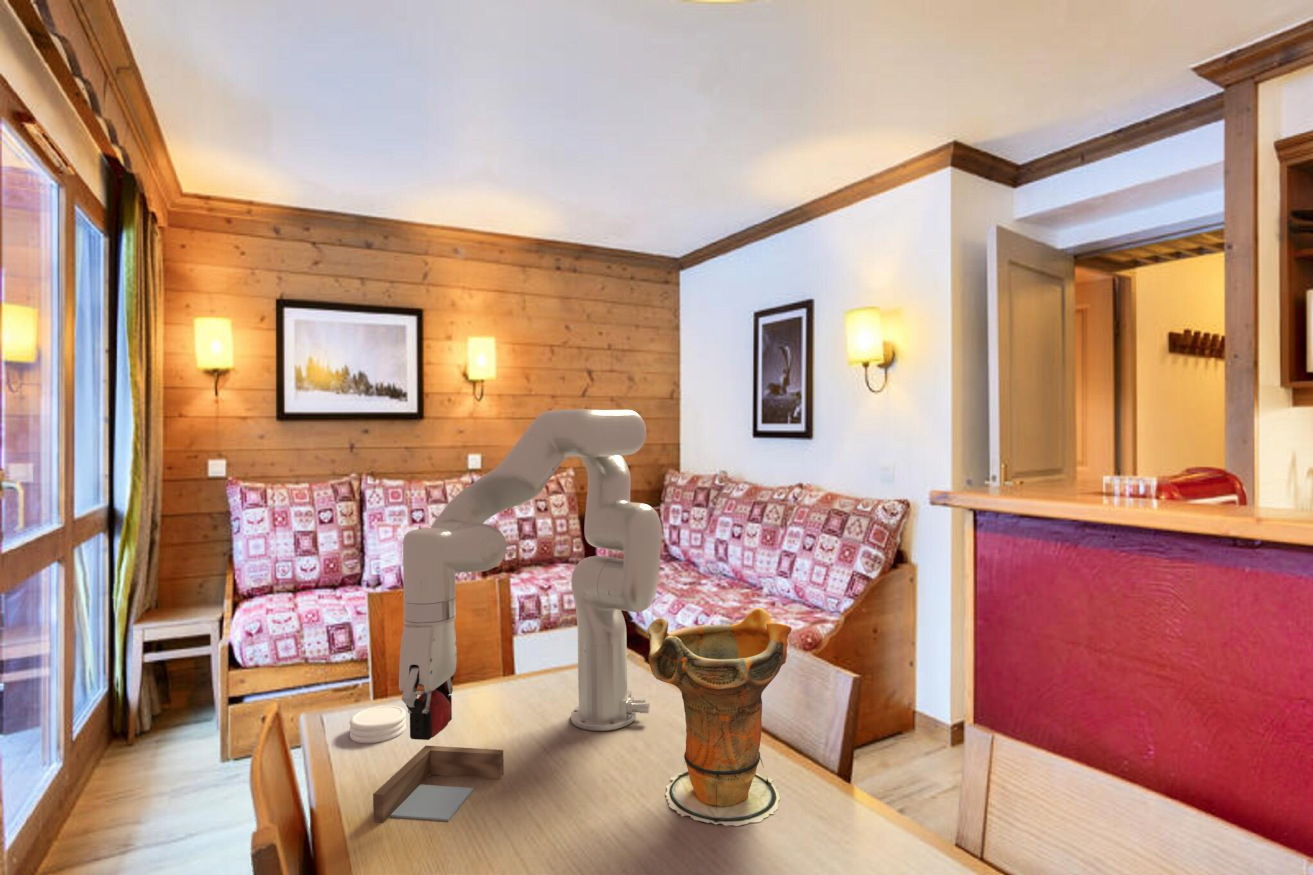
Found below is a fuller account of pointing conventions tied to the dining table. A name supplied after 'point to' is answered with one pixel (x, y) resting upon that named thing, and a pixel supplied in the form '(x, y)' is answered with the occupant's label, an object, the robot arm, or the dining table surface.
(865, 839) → the dining table surface
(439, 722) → the onion
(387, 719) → the coaster
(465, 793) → the pad
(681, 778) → the decorative vase
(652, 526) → the robot arm
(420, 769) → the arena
